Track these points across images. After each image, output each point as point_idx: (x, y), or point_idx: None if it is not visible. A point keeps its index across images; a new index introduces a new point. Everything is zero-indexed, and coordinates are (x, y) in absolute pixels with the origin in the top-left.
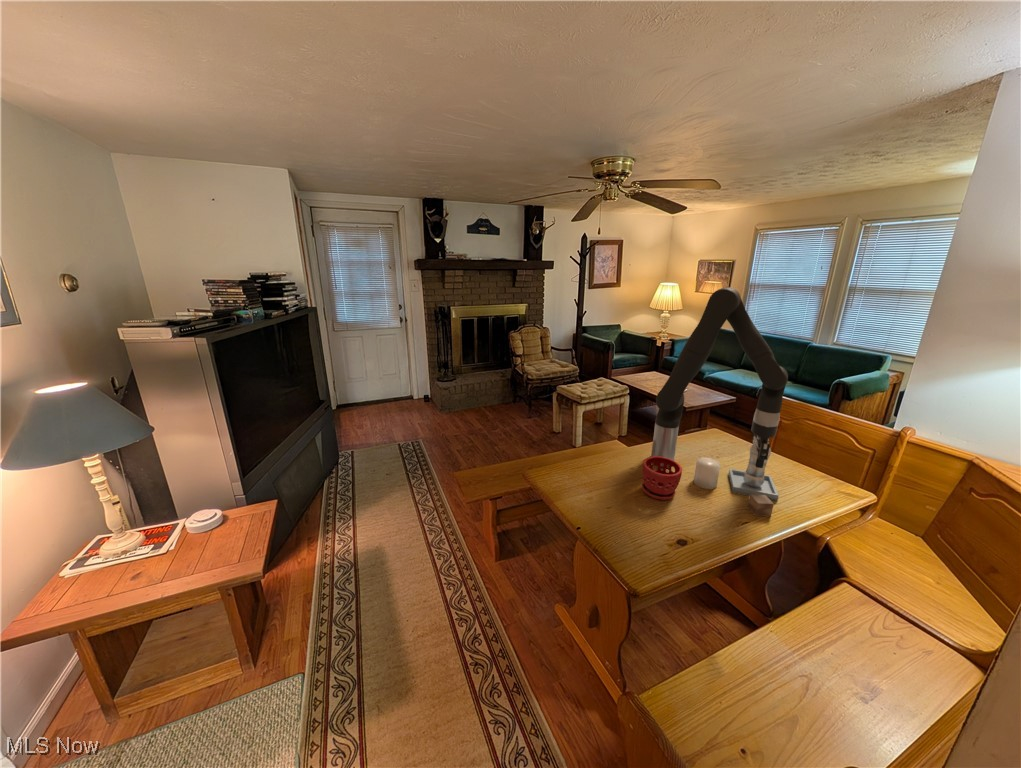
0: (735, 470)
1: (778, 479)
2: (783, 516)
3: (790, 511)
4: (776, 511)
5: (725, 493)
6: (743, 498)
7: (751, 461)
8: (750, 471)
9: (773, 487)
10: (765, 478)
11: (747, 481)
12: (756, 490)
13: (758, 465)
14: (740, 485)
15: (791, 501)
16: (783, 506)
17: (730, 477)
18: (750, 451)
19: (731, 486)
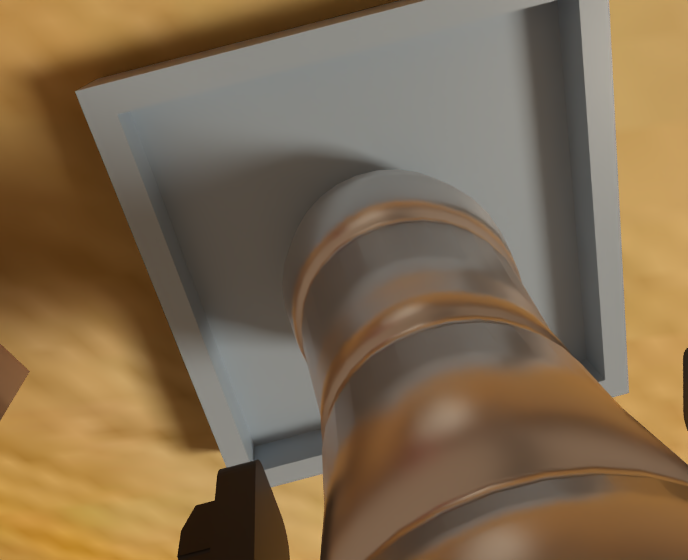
0: (583, 42)
1: (671, 409)
2: (11, 511)
3: (141, 536)
4: (50, 465)
5: (3, 4)
6: (55, 205)
7: (361, 395)
8: (324, 307)
9: None
10: (588, 342)
11: (296, 231)
12: (189, 328)
13: (184, 545)
14: (278, 145)
15: (318, 523)
16: (186, 492)
17: (396, 4)
18: (462, 507)
19: (220, 47)
